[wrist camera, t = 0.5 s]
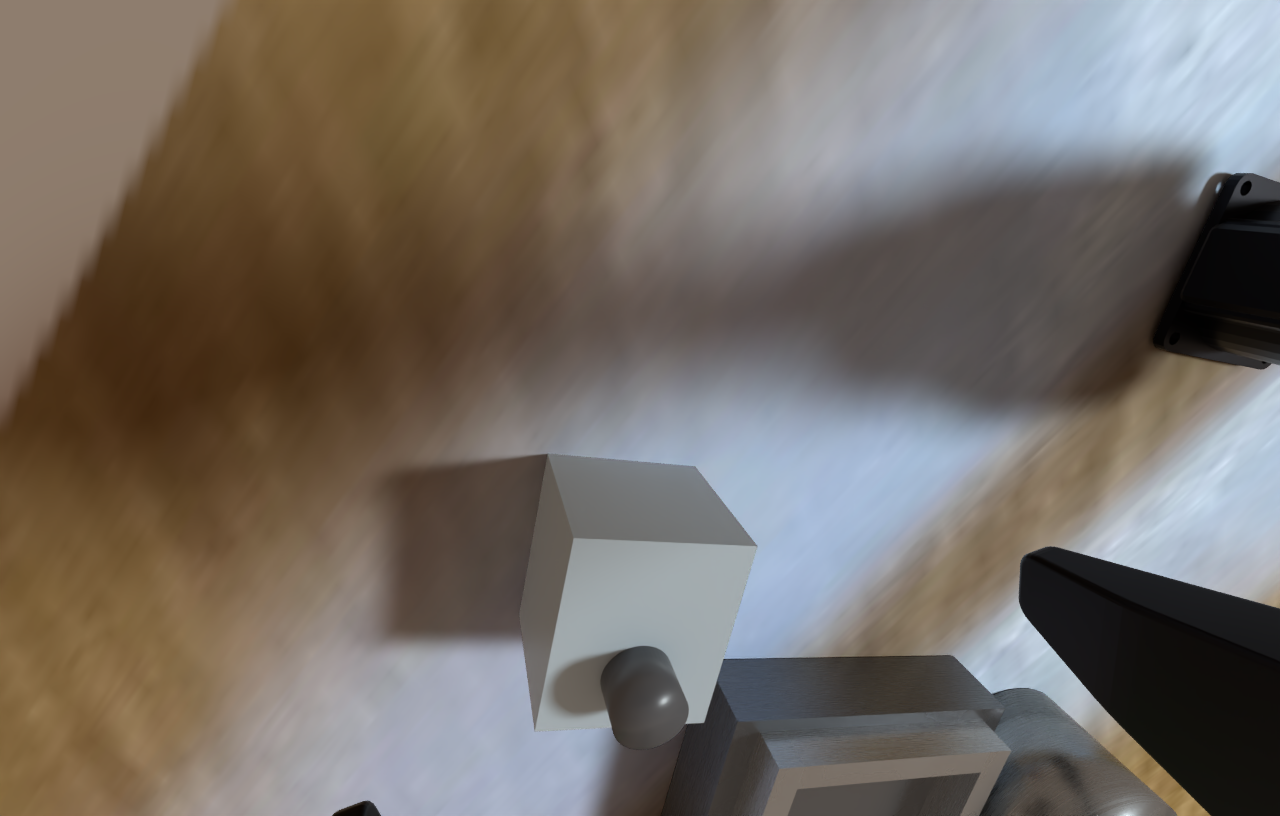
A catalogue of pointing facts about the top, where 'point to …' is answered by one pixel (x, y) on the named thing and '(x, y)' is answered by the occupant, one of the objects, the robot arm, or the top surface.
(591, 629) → the block
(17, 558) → the top surface
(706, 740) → the motor mount
